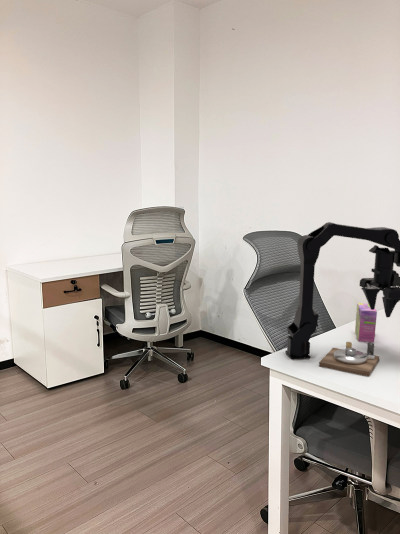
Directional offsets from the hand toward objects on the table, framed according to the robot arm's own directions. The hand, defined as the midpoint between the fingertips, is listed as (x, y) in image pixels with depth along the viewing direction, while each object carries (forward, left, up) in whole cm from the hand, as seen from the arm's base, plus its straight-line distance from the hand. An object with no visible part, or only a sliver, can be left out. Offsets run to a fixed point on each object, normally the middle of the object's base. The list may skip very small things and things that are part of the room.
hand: (379, 313), depth 154 cm
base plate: (-13, -7, -14) cm, 20 cm away
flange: (-12, -7, -12) cm, 18 cm away
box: (+4, +16, -14) cm, 22 cm away
